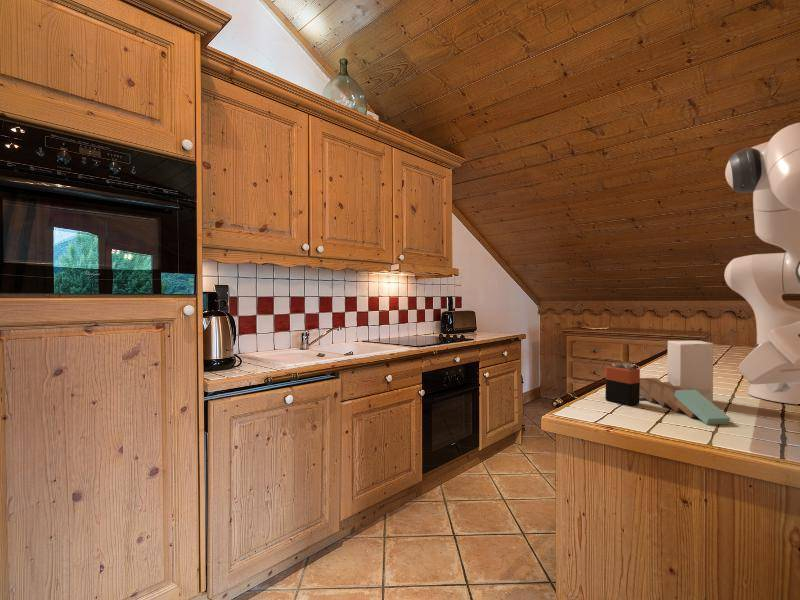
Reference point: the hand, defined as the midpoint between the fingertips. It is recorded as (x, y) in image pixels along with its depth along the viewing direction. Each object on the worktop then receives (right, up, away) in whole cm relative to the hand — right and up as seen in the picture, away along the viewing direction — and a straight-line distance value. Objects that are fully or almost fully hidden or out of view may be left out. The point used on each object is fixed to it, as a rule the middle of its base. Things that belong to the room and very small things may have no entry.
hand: (774, 389), depth 75 cm
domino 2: (-3, -9, +24) cm, 26 cm away
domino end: (-2, -9, +11) cm, 15 cm away
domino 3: (-3, -9, +19) cm, 22 cm away
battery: (-13, -10, +28) cm, 33 cm away
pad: (-4, -10, +34) cm, 36 cm away
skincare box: (+6, -10, +30) cm, 32 cm away
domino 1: (-3, -9, +28) cm, 30 cm away
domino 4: (-2, -9, +15) cm, 18 cm away
